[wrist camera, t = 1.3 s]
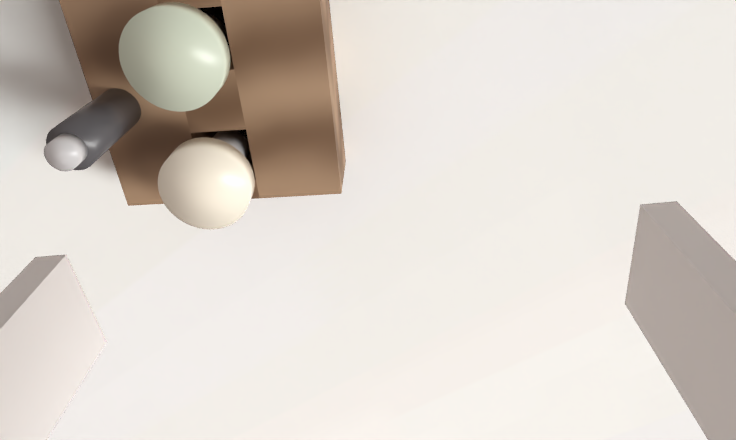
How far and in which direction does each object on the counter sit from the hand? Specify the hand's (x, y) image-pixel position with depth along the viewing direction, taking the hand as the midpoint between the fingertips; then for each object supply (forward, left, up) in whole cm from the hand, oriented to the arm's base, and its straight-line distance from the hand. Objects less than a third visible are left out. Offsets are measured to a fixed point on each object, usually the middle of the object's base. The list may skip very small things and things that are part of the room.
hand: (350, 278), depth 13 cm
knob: (+5, -9, -23) cm, 25 cm away
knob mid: (-2, -9, -23) cm, 24 cm away
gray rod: (+2, -15, -21) cm, 25 cm away
